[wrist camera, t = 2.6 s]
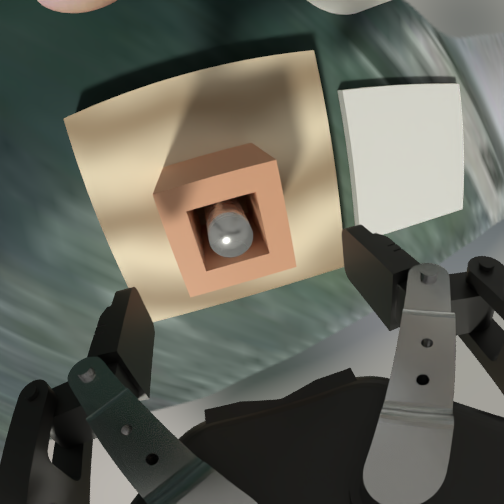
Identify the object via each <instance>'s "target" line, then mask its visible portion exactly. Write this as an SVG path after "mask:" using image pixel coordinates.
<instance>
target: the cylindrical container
mask: <svg viewBox="0 0 504 504" xmlns="http://www.w3.org/2000/svg"><path fill="white" fill-rule="evenodd" d="M307 1H309V2H310V3H311V4H313V5H315V6H316V7H318V8H320V9H322V10H325V11H327V12H330V13H335V14H342V15H349V14H355V13H358V12H361V11H364V10H366V9H369V8H371V7H374V6H377V5H380V4H382V3H385V2H388V1H391V0H307Z"/></svg>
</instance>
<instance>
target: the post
mask: <svg viewBox="0 0 504 504" xmlns="http://www.w3.org/2000/svg"><path fill="white" fill-rule="evenodd" d="M204 211H205V217H206V224H207V231H208V238H209V243H210V246H211V248H212V249H213V251H214V252H215V253H217V254H218V255H220V256H223V257H228V258H231V257H237V256H240V255H242V254H243V253H245V252H246V251H247V250H248V249H249V247H250V246H251V244H252V241H253V231H252V228H251V226H250V224H249V222H248V220H247V218H246V216H245V214H244V212H243V209H242V207H241V205H240V203H239V201H238V199H237V197H235V198H231V199H228V200H224V201H221V202H217V203H214V204H210V205H207V206H204Z"/></svg>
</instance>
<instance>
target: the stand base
mask: <svg viewBox="0 0 504 504" xmlns="http://www.w3.org/2000/svg"><path fill="white" fill-rule="evenodd" d="M64 122H65V125H66V129H67V132H68V135H69V138H70V142H71V145H72V148H73V151H74V154H75V157H76V160H77V163H78V166H79V169H80V172H81V175H82V177H83V180H84V183H85V186H86V189H87V191H88V194H89V197H90V199H91V202H92V204H93V207H94V210H95V212H96V215H97V217H98V220H99V222H100V225H101V227H102V229H103V232H104V234H105V237H106V239H107V241H108V244H109V246H110V248H111V250H112V253H113V255H114V257H115V259H116V262H117V264H118V266H119V268H120V270H121V272H122V275H123V277H124V279H125V281H126V283H127V285H128V287H129V288H131V287H135V288H136V289H137V290H138V292H139V294H140V296H141V298H142V300H143V303H144V305H145V307H146V309H147V311H148V313H149V315H150V317H151V319H152V322H155V321H159V320H163V319H167V318H171V317H174V316H178V315H182V314H186V313H189V312H193V311H197V310H200V309H204V308H208V307H211V306H215V305H218V304H222V303H225V302H229V301H232V300H236V299H239V298H243V297H246V296H250V295H253V294H257V293H260V292H263V291H267V290H270V289H274V288H277V287H280V286H284V285H287V284H290V283H293V282H297V281H300V280H303V279H306V278H310V277H313V276H316V275H319V274H322V273H326V272H329V271H332V270H335V269H338V268H341V267H344V258H343V246H342V220H341V210H340V202H339V193H338V185H337V177H336V170H335V163H334V156H333V149H332V143H331V136H330V130H329V124H328V118H327V113H326V107H325V102H324V97H323V91H322V86H321V81H320V76H319V72H318V67H317V62H316V58H315V53H314V50H310V51H301V52H293V53H285V54H278V55H272V56H265V57H259V58H254V59H248V60H243V61H238V62H233V63H228V64H224V65H219V66H215V67H211V68H207V69H203V70H199V71H195V72H191V73H187V74H184V75H180V76H177V77H173V78H170V79H166V80H163V81H160V82H157V83H153V84H150V85H147V86H144V87H141V88H138V89H136V90H133V91H130V92H127V93H124V94H122V95H119V96H116V97H114V98H111V99H108V100H106V101H103V102H101V103H98V104H96V105H94V106H91V107H89V108H86V109H84V110H82V111H80V112H77V113H75V114H73V115H71V116H68V117H66V118H64ZM248 143H253V144H254V145H256V146H257V147H259V148H260V149H262V150H263V151H264V152H266V153H267V154H269V155H270V156H272V157H273V158H274V159H276V160H277V165H278V170H279V175H280V180H281V185H282V190H283V195H284V200H285V206H286V211H287V216H288V222H289V227H290V232H291V238H292V243H293V249H294V255H295V260H296V266H297V267H294V268H291V269H288V270H284V271H281V272H278V273H274V274H271V275H267V276H264V277H261V278H257V279H254V280H250V281H247V282H243V283H240V284H237V285H233V286H230V287H226V288H223V289H219V290H216V291H212V292H208V293H205V294H201V295H198V296H194V297H191V298H190V295H189V293H188V290H187V288H186V285H185V282H184V280H183V277H182V275H181V272H180V270H179V267H178V264H177V262H176V259H175V257H174V254H173V251H172V249H171V246H170V243H169V240H168V238H167V235H166V232H165V229H164V227H163V224H162V221H161V218H160V215H159V212H158V210H157V207H156V204H155V201H154V198H153V195H152V194H153V192H154V189H155V187H156V184H157V181H158V179H159V176H160V174H161V171H162V169H163V167H166V166H169V165H172V164H175V163H179V162H182V161H185V160H189V159H192V158H196V157H199V156H203V155H206V154H210V153H213V152H217V151H221V150H224V149H228V148H232V147H236V146H240V145H244V144H248ZM237 199H238V201H239V203H240V205H241V207H242V209H243V212H244V213H247V212H248V208H247V204H246V200H245V196H244V195H242V196H239V197H237ZM196 211H197V214H198V217H199V221H200V224H201V225H205V224H206V217H205V211H204V206H203V207H200V208H196Z"/></svg>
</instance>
